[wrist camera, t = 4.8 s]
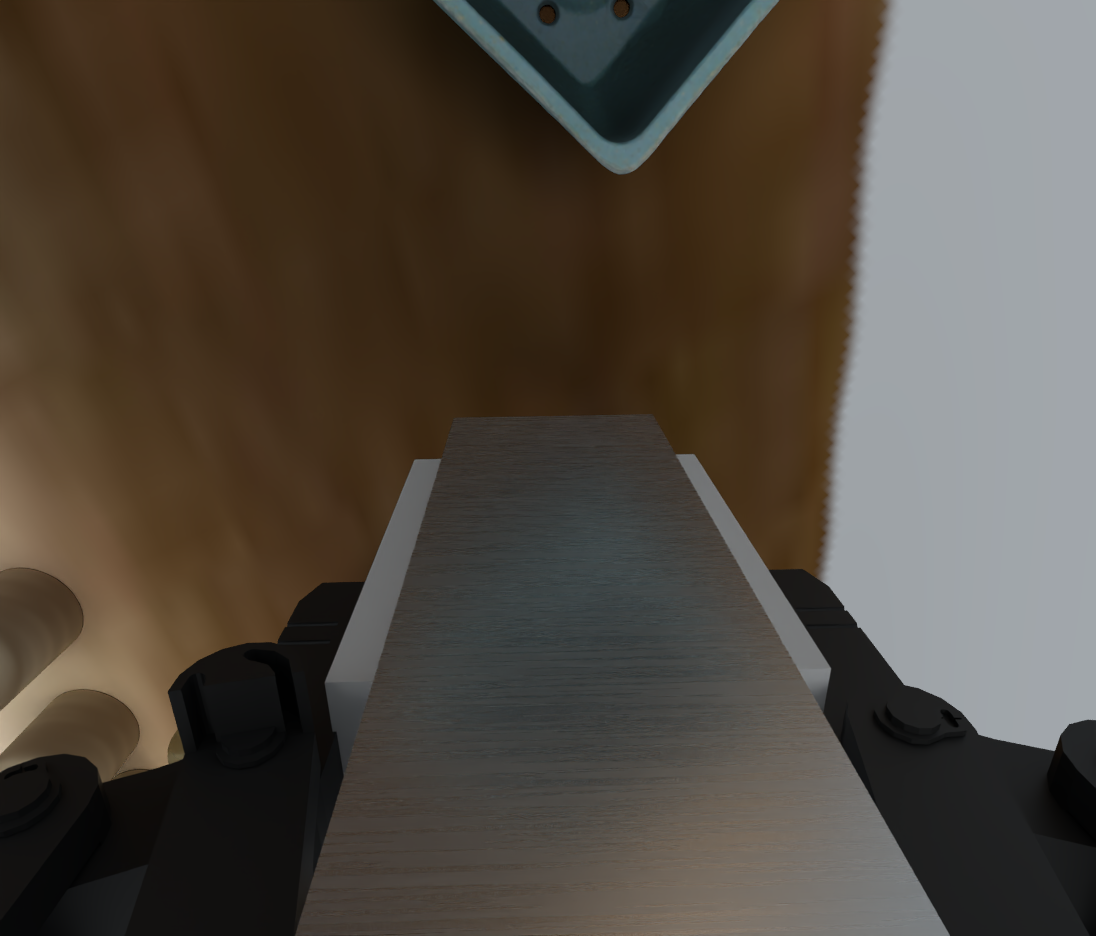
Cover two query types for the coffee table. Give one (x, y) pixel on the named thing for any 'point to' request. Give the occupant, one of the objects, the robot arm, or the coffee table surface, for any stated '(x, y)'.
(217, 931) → the robot arm
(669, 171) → the coffee table surface
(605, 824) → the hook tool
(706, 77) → the flower pot
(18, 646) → the posts
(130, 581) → the coffee table surface
